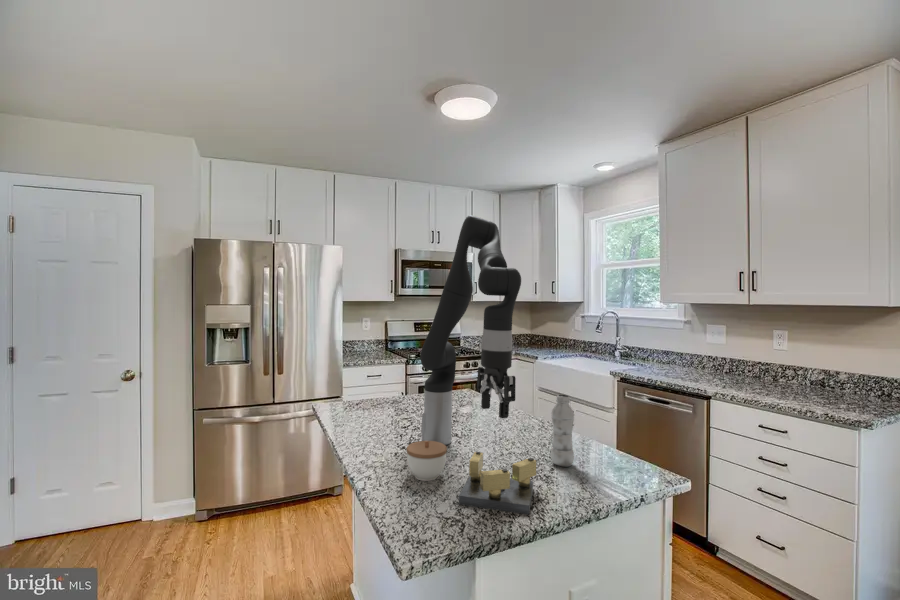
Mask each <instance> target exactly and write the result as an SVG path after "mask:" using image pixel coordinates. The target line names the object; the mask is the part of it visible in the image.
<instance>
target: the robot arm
mask: <svg viewBox="0 0 900 600" xmlns="http://www.w3.org/2000/svg"><path fill="white" fill-rule="evenodd" d="M456 244H457V245H456V247H455V251H454V255H453V258H452V259H453V260H452V263H451V265H450V269H449V272H448V275H447V278H446V281H445V283H444V287H443V289H442V292H441V296H440V299H439V303H438V306H437V308H436V312H435V315H434V318H433V321H432V323H431V326H430V329H429V332H428V334H427V336H426V338H425V341H424V342H423V346H422V348H421V349H420V358H419V359H420V362H421V365H422V367H423V368H424V370H427V371H431V373H430V376H429V377H427V379H426V380H425V381H424V394H423V396H424V397H423V398H424V399H423V401H424V404H423V407H424V408H423V412H422V414H421V441H436V442H440V443H442V444H444V445H445V446H447V445H450V444H451V443H452V437H453V436H452V428H453V427H452V426H453V425H452V421H453V419H452V418H453V416H452V415H453V385H454V382H455V380H456V366H457V365H456V364H457V353H456V350H455V347H454V346H453V343H451V342H449V338H450V335H451V333H452V331H454V328H455V327H456V326H457V325H458V324H459V322H460V321H461V319H462V318H463V316H464V315H465V313H466V312H467V309H468V308H469V306H470V305H469V304H470V301H471V298H472V296H473V291H474V288H473V281H472V278H471V277H472V276H471V274H470V270H469V266H468V265H469V264H468V250H469V247H471V248H475V249H478V250H479V251H478V253H477V263H478V266H479V269H480V272H479V275H478V279H477V286H478V289H479V292H481V293H482V294H483V295H486V296H499V297H504V298H503V300H502V301H501V302H500V303H497V304H492V305H491V304H490V305H487V306H485V308H484V310H483V326H482V327H483V330H482V337H481V353H480V354H481V356H480V365H481V366H478V368H477V380H476V381H477V382H476V389H477V390H479V392H480V394H481V399H480V400H481V403H480V404H481V409H483V410H486V409H490V407H491V391H492V390H493V391H494V392H495V394H496V395H497V396H498V400H499V407H498V411H499V412H498V417H499V418H500V419H507V418H508V417H509V414H510V413H509V411H510V403H511V402H515V401H516V379H517V378H516V376H515V375H509V374H508V370H509V369H510V368H511V367H512V357H513V314H514V309H515V305H516V301H517V298H518V295H519V293H520V289H521V286H522V276H521V273H520V271H519V270H518V269H517V268H514V267H508V264H507V261H506V259H505V256H504V254H503V253H502V249H501V238H500V231H499V227H498V226H497V224H496V223H495V222H493V221H491V220H488V219H484V218H481V217H478V216H476V215H467V216H466V217H465V219H464V221H463V222H462V225H461V228H460V232H459V235H458V240H457V243H456Z"/></svg>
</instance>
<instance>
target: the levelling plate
mask: <svg viewBox="0 0 900 600" xmlns="http://www.w3.org/2000/svg"><path fill="white" fill-rule="evenodd" d="M533 491H534V481H533V480H530V486H528V487H522V486H520V485H519V484H518V481H516V480H513V479H512V477H510V489H501V497H500V498H491V497H489V491H483V490H482V489H481V487H480V480H478V481H475V480H472V479H471V476H468V478H467V480H466V482H465V484H464V485H463V487H462V489H461V491H460V493H459V495H458V505H461V506H467V507H468V506H469V507H475V508H482V509H490V510H495V511H496V510H497V511H503V512H510V513H517V514H523V515H530V511H531V506H532V505H531V504H532V499H533Z"/></svg>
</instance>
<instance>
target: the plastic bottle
mask: <svg viewBox="0 0 900 600" xmlns="http://www.w3.org/2000/svg"><path fill="white" fill-rule="evenodd" d="M570 398H571V397H570V395H569V394H563V393H562V394H559V393H558V394H556V399H555V402H556V404H555V405H554V406H553V408H552V409H551V413H550V414H551V424H552V443H551V449H550V460H551V462H552V463H553V464H554V465H556V466H558V467H564V468H565V467H571V465H573V464H574V461H575V455H574V450H573V427H574V421H575V413H574V410H573V409H572V407H571V406H570V403H571V401H570Z"/></svg>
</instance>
